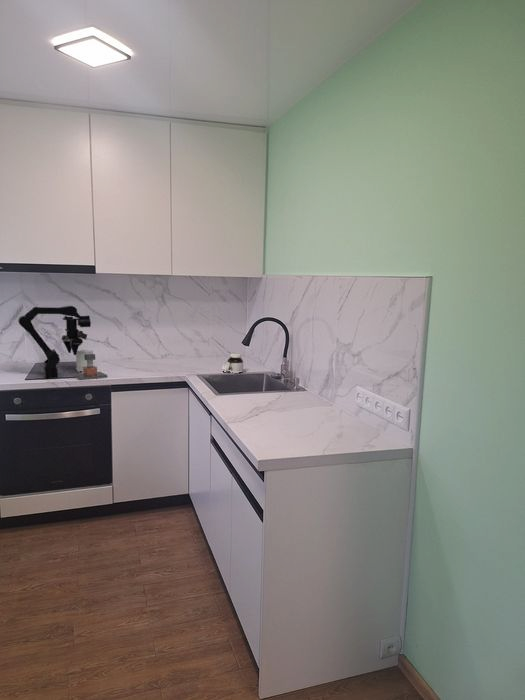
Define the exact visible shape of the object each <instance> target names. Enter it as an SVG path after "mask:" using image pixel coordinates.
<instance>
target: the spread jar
mask: <svg viewBox="0 0 525 700" xmlns="http://www.w3.org/2000/svg"><path fill="white" fill-rule="evenodd" d="M229 356H230V357H229V358H228V359H227V362H224V363H223V364H222V367H221V370H222V369H225V371H227V372H229V371H228V370H231V371H241V370H243V371H244V360H243V358H242V355H241V354H240V353H231V354H229Z"/></svg>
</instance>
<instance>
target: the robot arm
mask: <svg viewBox="0 0 525 700" xmlns="http://www.w3.org/2000/svg"><path fill="white" fill-rule="evenodd" d="M37 315H63V316H64V317H62V320H63V321H65V327H66V328H65V329H64V331H65V332H66V334H65V335H61V341H62V343H63V344H64V347H65V348H66V350H67V352H68V353H69V354H71V353H73V356H76V354H77V351H79V350H78V349H79V347H80V346H81V345H82V344H83V343H84V340H87V337H88V334H87V333H84V331H82V330H79V329H78V326H79V328H91V326H92V324H91V323H92V320H91V317H90V315H80V313H79V312H78V309H77V308H76V307H75V306H73V305H65V306H59V307H50V306H49V307H48V306H45V307H44V306H33V307H32V309H30V310H29V311H28V312H26V313H25V314H24V315H21V316H19V317H18V319H17V321H18V324H19V325H20V326H21V327H22V328H23V329H24V330H26V332H28V334H29V335H30V336H31V337H32V338H33V340H34V341H35V342H36V344H37V345H38V346H39V347H40V349H41V350H42V351H43V353H44V355H45V357H46V359H45V360H44V362H43V365H44V366H43V375H42V377H43V378H45V379H53V378H55V377H56V378H59V376H58V375H59V373H58V370H59V369H58V367H57V365H59V363H60V361H61V359H60V355H59V353H58V352H57V351H56V349H51V348H50V347H49V345H47V343H46V342H45V341H44V339H43V338H42V337H41V335H40V334H39V333H38V332H37V330H36V329H35V326H34V324H33V323H32V321H33V320H34V319H35V318H36V317H37ZM73 317H74V318H73Z"/></svg>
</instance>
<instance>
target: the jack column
mask: <svg viewBox="0 0 525 700" xmlns="http://www.w3.org/2000/svg"><path fill="white" fill-rule="evenodd" d="M84 358H85V360H87V367H88V368H91V367H93V366H94V361H95V360H96V354H94V353H93V354H84Z"/></svg>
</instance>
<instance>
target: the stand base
mask: <svg viewBox="0 0 525 700" xmlns="http://www.w3.org/2000/svg"><path fill="white" fill-rule="evenodd" d="M74 377H75V378H74ZM72 378H74V379H76V378H77V381H86V380H87V381H88V380H95V379H104V378H105V379H106V378H108V374H106V373H104V372H102V371H98V367H97V366H95V365H93V367H91V368H88V367H87V366H86V367H83V372H81V373H73V374H72Z"/></svg>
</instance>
